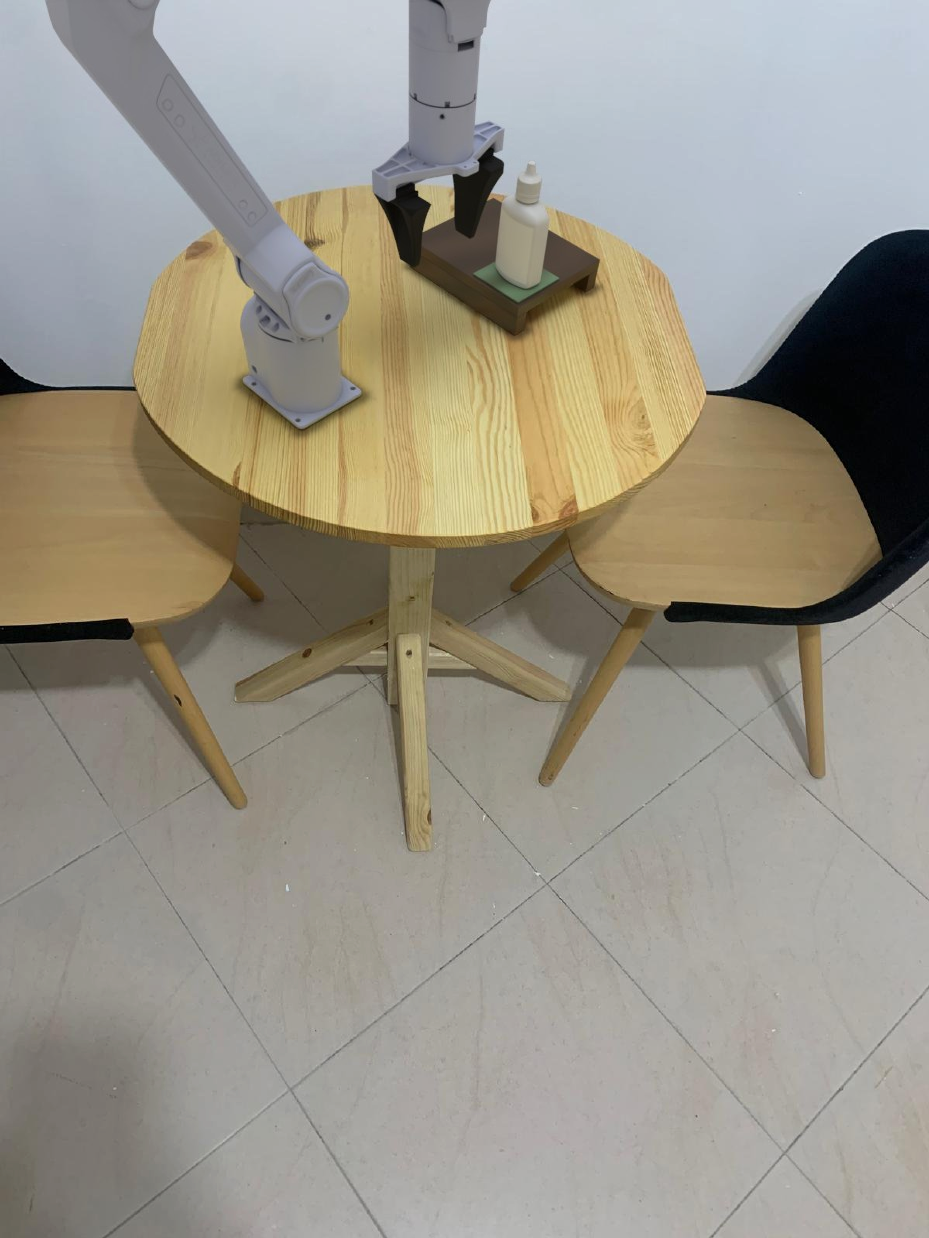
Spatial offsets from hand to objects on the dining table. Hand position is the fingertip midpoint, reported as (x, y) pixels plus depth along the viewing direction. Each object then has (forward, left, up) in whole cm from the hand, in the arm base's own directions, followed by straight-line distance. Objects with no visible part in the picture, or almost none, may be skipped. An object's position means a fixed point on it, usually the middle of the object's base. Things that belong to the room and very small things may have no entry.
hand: (437, 247), depth 76 cm
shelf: (-3, +14, -10) cm, 18 cm away
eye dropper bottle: (+2, +11, -7) cm, 13 cm away
